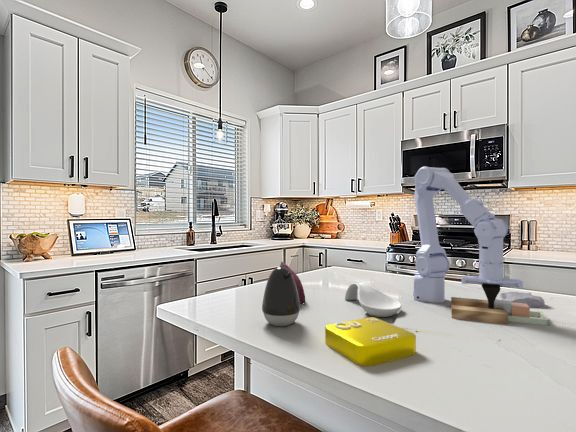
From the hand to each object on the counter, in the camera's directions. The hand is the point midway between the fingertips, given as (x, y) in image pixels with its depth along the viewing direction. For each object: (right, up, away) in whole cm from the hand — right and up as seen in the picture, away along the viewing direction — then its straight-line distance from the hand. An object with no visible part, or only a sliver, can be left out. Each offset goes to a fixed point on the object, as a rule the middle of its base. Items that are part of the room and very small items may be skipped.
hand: (490, 311), depth 96 cm
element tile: (-38, -3, -20) cm, 43 cm away
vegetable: (-56, -2, +19) cm, 59 cm away
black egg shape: (-58, -3, -3) cm, 58 cm away
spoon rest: (-31, -3, +11) cm, 33 cm away
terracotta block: (+6, -1, -3) cm, 7 cm away
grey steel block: (+2, -1, -1) cm, 3 cm away
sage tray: (+7, -2, -3) cm, 8 cm away
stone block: (+17, -2, +14) cm, 22 cm away
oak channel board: (-3, -2, +1) cm, 4 cm away
